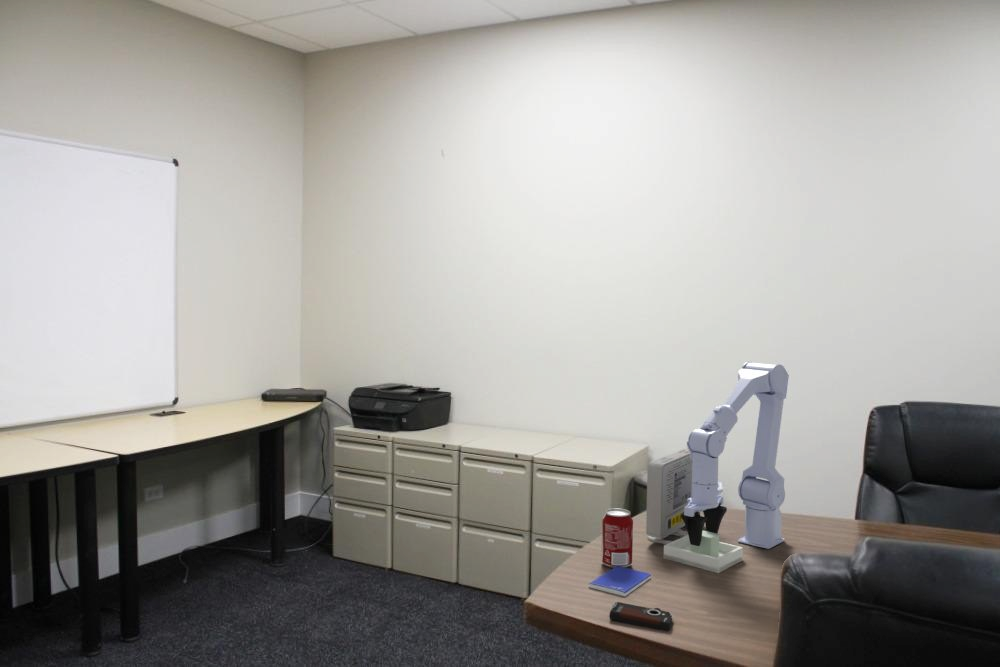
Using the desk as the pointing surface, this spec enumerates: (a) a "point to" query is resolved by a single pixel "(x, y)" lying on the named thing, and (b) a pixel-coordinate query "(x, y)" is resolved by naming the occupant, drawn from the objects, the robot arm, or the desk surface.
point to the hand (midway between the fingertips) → (703, 541)
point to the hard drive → (620, 581)
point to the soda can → (617, 538)
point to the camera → (641, 616)
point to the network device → (668, 495)
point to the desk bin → (682, 554)
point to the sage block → (708, 544)
